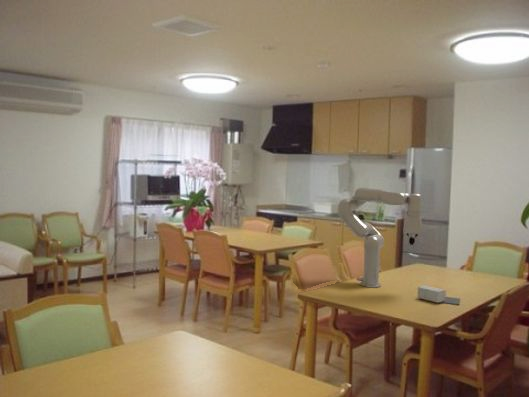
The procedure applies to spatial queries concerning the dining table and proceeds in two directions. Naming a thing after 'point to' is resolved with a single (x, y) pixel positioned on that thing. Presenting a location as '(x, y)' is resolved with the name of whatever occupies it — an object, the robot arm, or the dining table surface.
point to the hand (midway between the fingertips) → (411, 244)
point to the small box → (431, 293)
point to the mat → (450, 301)
